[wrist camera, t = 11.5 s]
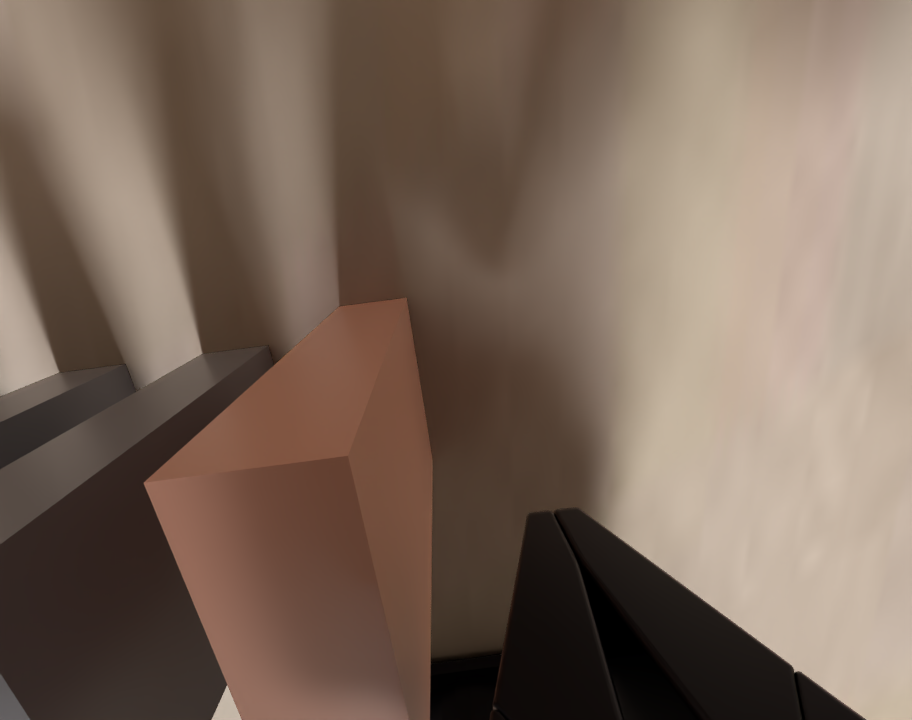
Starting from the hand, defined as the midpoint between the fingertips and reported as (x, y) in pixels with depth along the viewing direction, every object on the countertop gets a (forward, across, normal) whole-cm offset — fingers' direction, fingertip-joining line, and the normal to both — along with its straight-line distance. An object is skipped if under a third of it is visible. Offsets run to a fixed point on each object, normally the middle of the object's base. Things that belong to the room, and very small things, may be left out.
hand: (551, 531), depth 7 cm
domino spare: (+6, +3, -1) cm, 6 cm away
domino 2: (+6, +7, 0) cm, 9 cm away
